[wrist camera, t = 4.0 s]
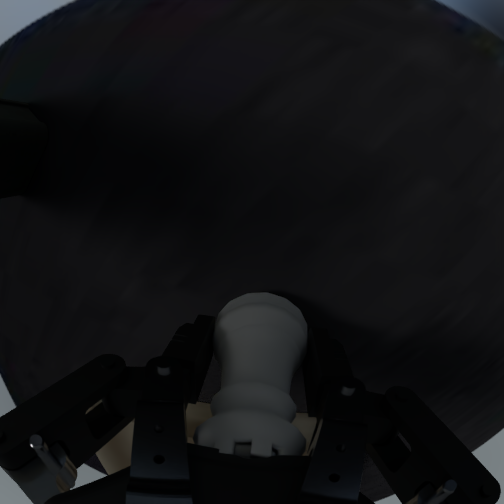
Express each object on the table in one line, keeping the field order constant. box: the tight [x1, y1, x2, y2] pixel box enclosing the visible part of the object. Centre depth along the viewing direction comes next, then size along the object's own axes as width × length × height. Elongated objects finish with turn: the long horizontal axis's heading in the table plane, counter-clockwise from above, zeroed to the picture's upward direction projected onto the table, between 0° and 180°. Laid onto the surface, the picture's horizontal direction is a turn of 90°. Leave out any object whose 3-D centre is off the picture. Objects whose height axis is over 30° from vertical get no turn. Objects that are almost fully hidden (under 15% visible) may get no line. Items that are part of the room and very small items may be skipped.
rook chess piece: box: [193, 292, 308, 459], centre depth 9 cm, size 4×4×8 cm
